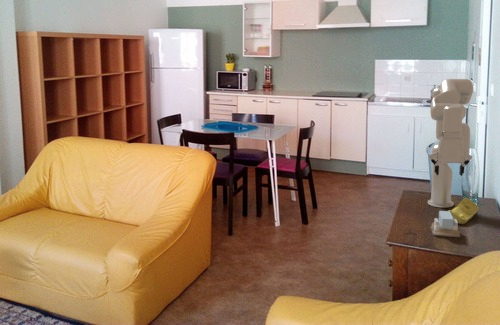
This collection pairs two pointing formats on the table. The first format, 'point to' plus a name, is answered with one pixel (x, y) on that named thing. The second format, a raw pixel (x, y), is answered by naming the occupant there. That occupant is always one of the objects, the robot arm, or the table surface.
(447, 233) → the assembly jig
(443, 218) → the light blue rectangular block
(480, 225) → the table surface
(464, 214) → the plastic component
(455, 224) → the white i-beam block
